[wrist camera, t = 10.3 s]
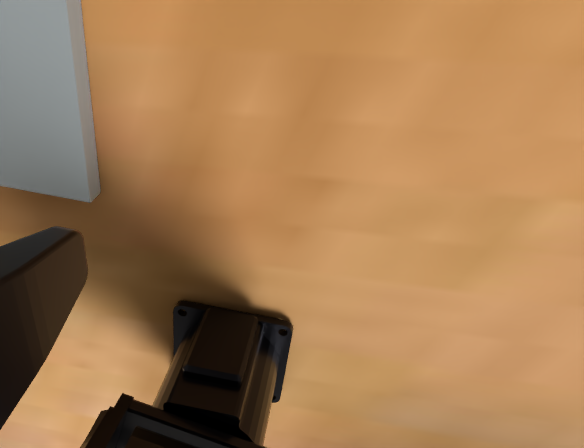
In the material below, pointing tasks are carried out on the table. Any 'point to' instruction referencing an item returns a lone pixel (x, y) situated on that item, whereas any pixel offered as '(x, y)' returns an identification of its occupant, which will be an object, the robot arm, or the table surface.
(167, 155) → the table surface
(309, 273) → the table surface
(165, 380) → the robot arm
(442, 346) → the table surface
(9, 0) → the board
